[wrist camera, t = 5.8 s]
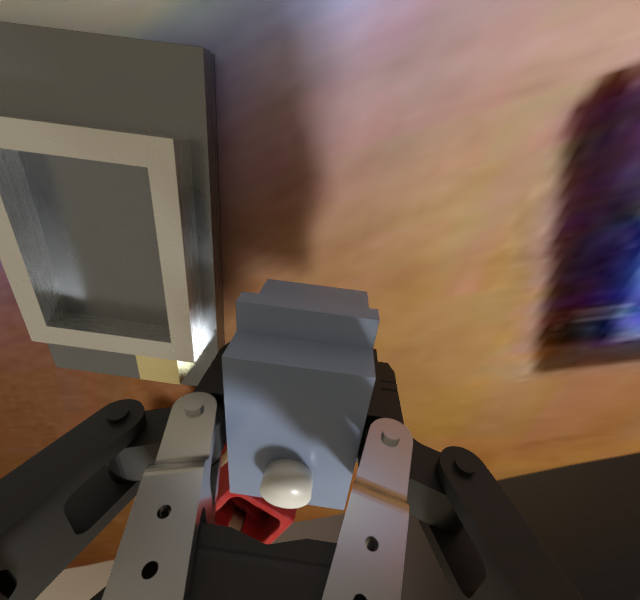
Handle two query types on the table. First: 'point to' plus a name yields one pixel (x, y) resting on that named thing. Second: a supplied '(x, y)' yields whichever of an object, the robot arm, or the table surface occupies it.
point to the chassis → (112, 200)
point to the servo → (298, 392)
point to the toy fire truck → (249, 510)
